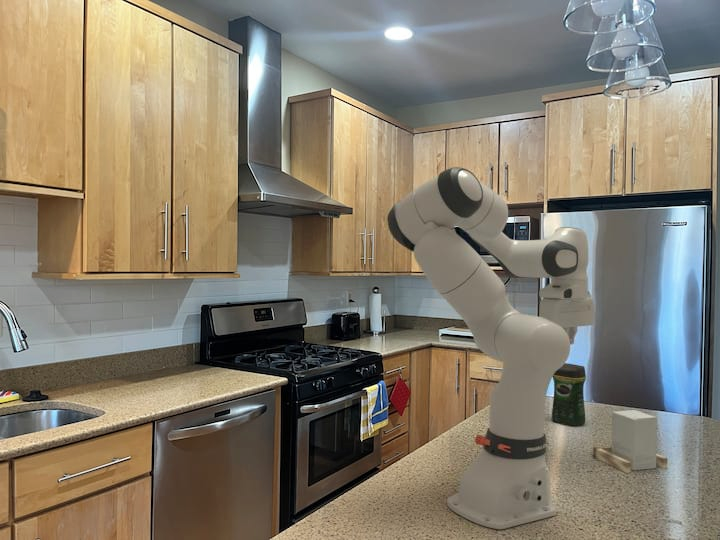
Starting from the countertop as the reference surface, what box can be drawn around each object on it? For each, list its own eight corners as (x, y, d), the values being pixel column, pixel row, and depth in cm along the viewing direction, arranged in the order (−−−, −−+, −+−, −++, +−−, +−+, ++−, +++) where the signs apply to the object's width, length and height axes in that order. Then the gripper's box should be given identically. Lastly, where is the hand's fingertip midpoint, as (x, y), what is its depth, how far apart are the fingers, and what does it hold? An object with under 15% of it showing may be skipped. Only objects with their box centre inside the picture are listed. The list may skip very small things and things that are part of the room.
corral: (667, 468, 131) (667, 458, 131) (626, 473, 128) (626, 462, 128) (631, 452, 142) (631, 443, 142) (593, 456, 138) (593, 447, 138)
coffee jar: (588, 423, 168) (590, 364, 168) (577, 428, 163) (578, 367, 163) (559, 416, 175) (560, 360, 175) (547, 421, 170) (548, 363, 170)
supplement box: (657, 468, 131) (658, 417, 131) (632, 471, 129) (633, 419, 129) (634, 457, 138) (635, 409, 138) (610, 460, 136) (611, 410, 136)
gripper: (579, 289, 146) (578, 340, 147) (535, 290, 134) (533, 345, 134) (601, 290, 141) (600, 343, 142) (557, 292, 129) (556, 349, 129)
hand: (567, 344), depth 138 cm, fingers closed
